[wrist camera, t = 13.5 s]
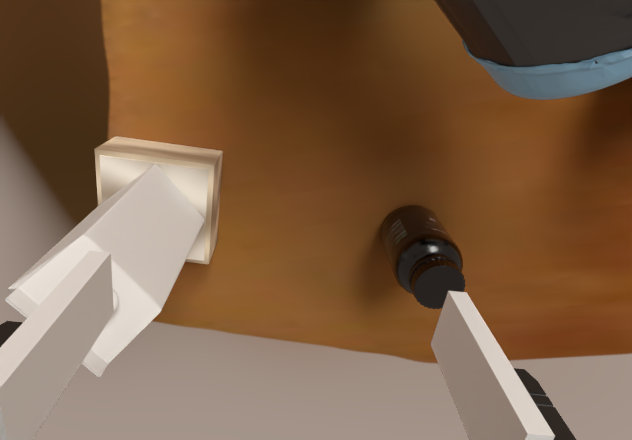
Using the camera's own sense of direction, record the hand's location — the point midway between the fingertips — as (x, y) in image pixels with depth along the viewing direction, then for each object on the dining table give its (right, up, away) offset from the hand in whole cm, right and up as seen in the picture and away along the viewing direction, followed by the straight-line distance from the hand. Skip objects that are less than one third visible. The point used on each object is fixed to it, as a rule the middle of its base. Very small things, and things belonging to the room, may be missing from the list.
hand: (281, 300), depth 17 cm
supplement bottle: (+12, +2, +34) cm, 36 cm away
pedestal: (-15, +6, +30) cm, 34 cm away
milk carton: (-15, +4, +26) cm, 30 cm away
